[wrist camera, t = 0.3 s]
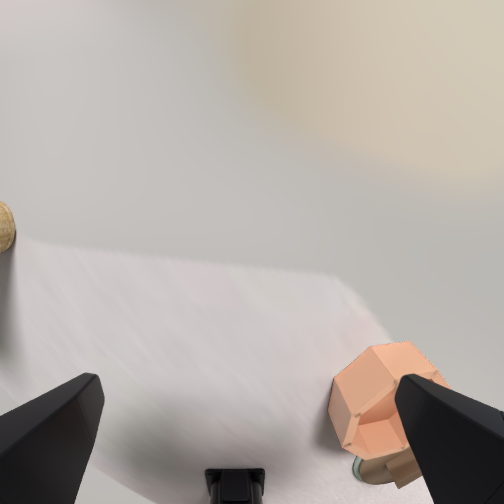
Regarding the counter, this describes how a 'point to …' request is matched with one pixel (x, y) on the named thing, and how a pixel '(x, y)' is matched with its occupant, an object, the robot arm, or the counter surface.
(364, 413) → the terracotta bowl
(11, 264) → the counter surface
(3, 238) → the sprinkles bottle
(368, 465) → the walnut lid
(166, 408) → the counter surface
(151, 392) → the counter surface
